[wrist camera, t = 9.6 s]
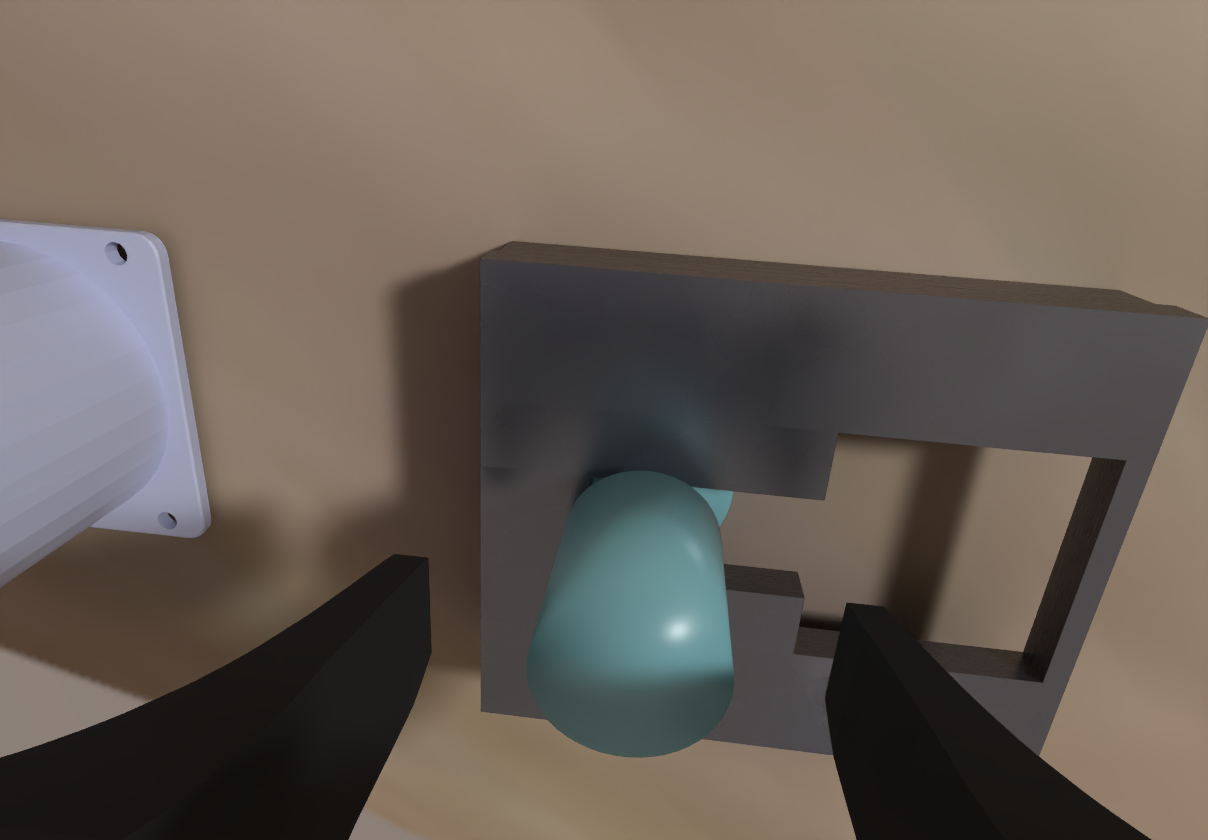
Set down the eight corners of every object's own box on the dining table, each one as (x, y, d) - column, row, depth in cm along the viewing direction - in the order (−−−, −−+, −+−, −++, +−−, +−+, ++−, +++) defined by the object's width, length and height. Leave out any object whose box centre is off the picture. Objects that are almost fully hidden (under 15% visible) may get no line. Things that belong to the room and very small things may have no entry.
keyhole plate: (506, 637, 20) (480, 711, 18) (512, 236, 16) (480, 258, 14) (983, 692, 20) (1029, 779, 17) (1121, 285, 15) (1210, 318, 13)
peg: (569, 533, 19) (507, 765, 12) (567, 388, 17) (494, 561, 11) (725, 542, 19) (750, 785, 12) (736, 395, 17) (773, 577, 10)
